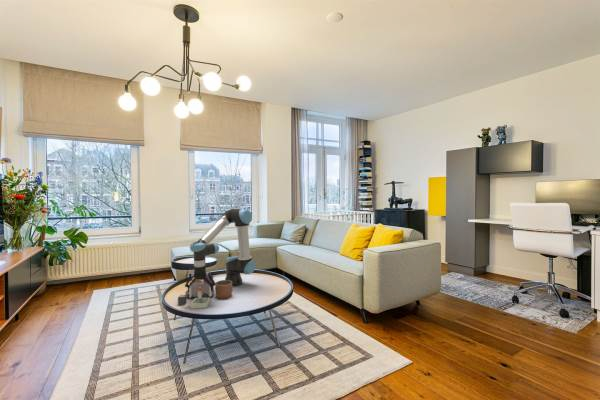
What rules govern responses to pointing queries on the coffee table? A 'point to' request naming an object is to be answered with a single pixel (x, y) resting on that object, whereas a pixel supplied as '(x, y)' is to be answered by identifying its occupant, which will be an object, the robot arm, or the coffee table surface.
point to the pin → (199, 294)
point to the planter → (223, 289)
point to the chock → (182, 300)
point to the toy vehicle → (200, 284)
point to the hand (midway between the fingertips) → (200, 296)
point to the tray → (200, 305)
